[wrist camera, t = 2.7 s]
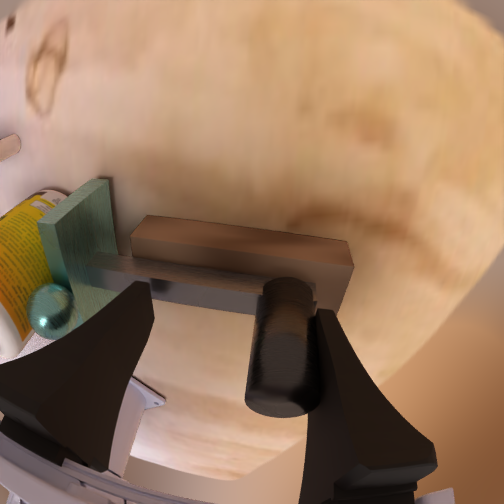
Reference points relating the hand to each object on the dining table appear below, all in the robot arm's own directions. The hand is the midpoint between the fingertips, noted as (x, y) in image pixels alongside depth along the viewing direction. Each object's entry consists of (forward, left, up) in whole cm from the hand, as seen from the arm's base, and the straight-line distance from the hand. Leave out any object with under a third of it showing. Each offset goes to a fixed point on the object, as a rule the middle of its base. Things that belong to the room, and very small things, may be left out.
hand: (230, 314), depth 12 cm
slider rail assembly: (-2, +2, -4) cm, 5 cm away
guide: (0, 0, -4) cm, 4 cm away
